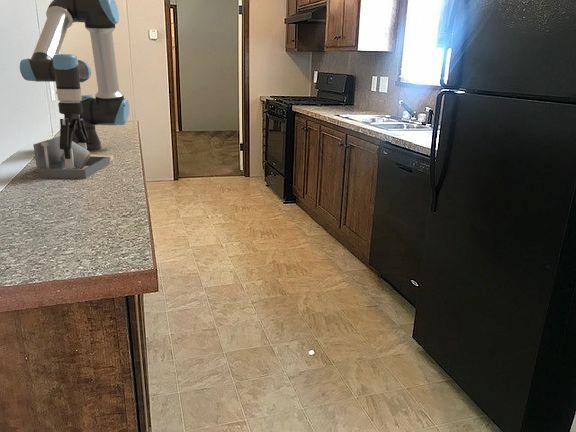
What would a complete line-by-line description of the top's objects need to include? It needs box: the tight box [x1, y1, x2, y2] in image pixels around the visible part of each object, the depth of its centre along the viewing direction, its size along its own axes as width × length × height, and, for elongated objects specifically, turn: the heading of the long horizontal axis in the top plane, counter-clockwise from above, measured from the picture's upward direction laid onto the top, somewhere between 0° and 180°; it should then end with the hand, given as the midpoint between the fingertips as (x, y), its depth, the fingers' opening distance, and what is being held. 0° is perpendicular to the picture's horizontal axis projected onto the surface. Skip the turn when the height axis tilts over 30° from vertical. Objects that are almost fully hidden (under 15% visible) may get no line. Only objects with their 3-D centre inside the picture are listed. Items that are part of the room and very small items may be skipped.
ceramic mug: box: [60, 141, 92, 169], centre depth 167 cm, size 11×8×8 cm
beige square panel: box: [91, 153, 117, 161], centre depth 187 cm, size 14×14×1 cm
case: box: [32, 135, 111, 180], centre depth 166 cm, size 24×16×11 cm, turn 1°
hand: (77, 164), depth 168 cm, fingers closed on ceramic mug, 12 cm apart
